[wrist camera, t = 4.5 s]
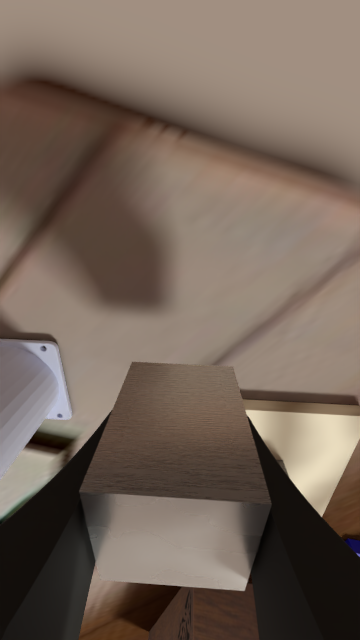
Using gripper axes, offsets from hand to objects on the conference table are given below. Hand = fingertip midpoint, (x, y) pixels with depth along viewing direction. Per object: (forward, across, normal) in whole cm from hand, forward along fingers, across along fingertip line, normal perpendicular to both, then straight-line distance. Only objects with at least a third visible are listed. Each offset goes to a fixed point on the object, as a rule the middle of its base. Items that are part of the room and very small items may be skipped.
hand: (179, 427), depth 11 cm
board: (+8, -8, +12) cm, 16 cm away
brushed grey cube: (+2, 0, 0) cm, 2 cm away
